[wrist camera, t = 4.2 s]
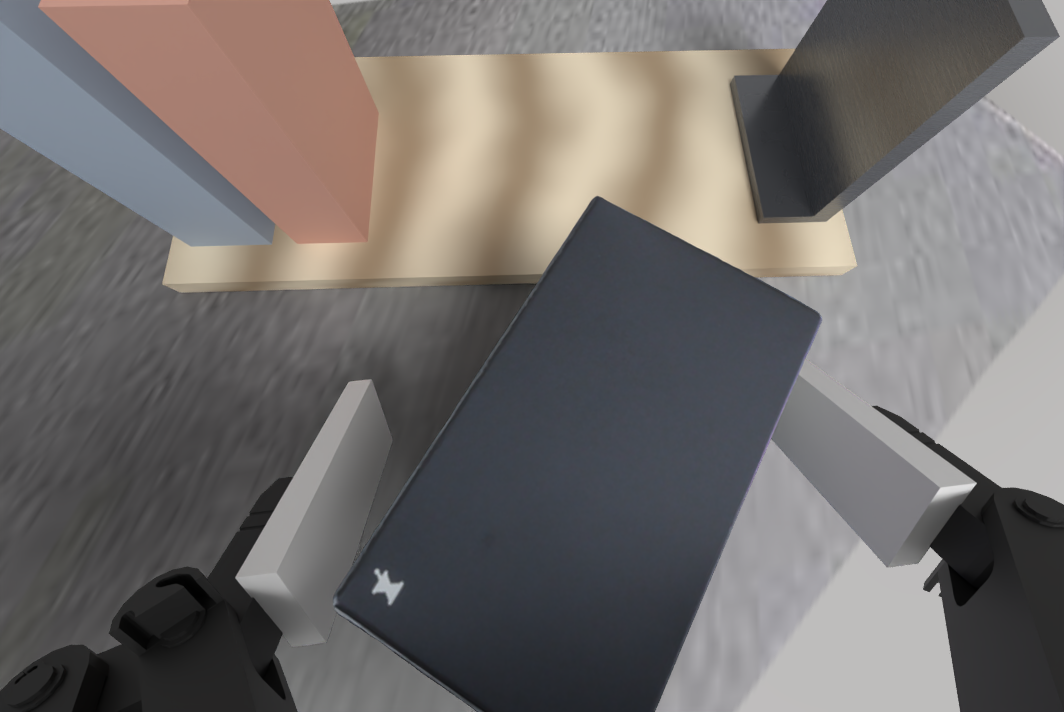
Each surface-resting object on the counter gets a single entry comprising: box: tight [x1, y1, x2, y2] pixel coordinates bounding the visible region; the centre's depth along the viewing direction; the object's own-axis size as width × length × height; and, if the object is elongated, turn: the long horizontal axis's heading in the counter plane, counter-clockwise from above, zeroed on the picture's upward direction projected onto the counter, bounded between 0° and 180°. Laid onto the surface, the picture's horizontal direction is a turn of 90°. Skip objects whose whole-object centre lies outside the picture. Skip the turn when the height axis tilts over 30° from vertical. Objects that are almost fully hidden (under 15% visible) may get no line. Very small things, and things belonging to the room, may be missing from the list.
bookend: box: [730, 0, 1059, 224], centre depth 16 cm, size 4×9×9 cm, turn 2°
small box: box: [333, 196, 822, 712], centre depth 13 cm, size 11×6×10 cm, turn 149°
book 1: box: [0, 0, 275, 247], centre depth 14 cm, size 4×8×12 cm, turn 2°
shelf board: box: [162, 49, 857, 293], centre depth 21 cm, size 34×14×1 cm, turn 92°
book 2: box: [38, 0, 379, 244], centre depth 15 cm, size 4×8×10 cm, turn 2°
